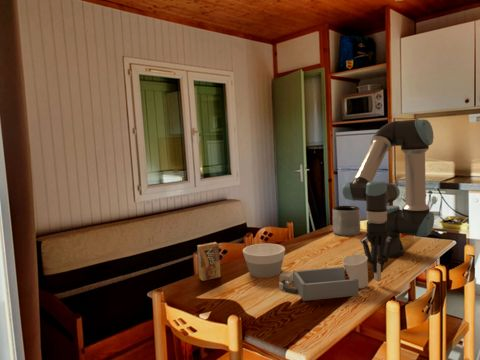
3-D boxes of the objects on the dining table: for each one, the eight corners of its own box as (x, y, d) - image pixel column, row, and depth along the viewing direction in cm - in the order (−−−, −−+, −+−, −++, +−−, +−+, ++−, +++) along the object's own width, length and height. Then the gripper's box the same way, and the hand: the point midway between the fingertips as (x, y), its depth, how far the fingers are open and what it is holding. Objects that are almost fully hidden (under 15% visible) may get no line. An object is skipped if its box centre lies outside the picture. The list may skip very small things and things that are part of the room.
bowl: (274, 282, 162) (273, 257, 161) (235, 276, 173) (234, 252, 171) (293, 268, 179) (292, 245, 177) (257, 263, 189) (255, 241, 188)
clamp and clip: (292, 278, 166) (291, 270, 166) (298, 288, 155) (298, 280, 154) (274, 279, 166) (274, 272, 165) (280, 290, 154) (279, 282, 154)
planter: (333, 236, 228) (333, 210, 226) (332, 230, 244) (331, 205, 242) (362, 236, 225) (361, 210, 224) (358, 229, 241) (357, 205, 239)
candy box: (217, 274, 176) (215, 241, 174) (221, 277, 172) (218, 243, 171) (199, 278, 172) (196, 245, 171) (202, 281, 169) (199, 247, 167)
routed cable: (290, 281, 163) (290, 277, 163) (298, 293, 150) (298, 289, 150) (278, 282, 162) (277, 279, 162) (284, 294, 150) (284, 291, 149)
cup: (375, 289, 147) (369, 262, 145) (348, 293, 149) (342, 267, 148) (371, 277, 157) (365, 252, 155) (346, 281, 159) (340, 256, 157)
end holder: (343, 280, 160) (343, 266, 160) (358, 295, 145) (358, 279, 144) (293, 285, 158) (293, 271, 158) (303, 300, 143) (302, 285, 142)
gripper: (387, 218, 155) (388, 275, 157) (356, 220, 154) (357, 278, 156) (397, 222, 148) (398, 282, 150) (364, 224, 146) (365, 284, 149)
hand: (377, 280), depth 153 cm, fingers closed
